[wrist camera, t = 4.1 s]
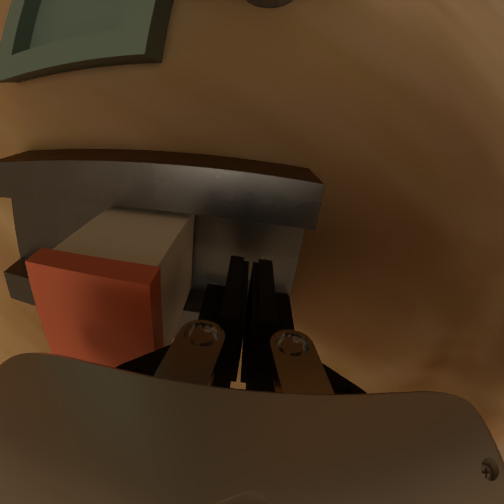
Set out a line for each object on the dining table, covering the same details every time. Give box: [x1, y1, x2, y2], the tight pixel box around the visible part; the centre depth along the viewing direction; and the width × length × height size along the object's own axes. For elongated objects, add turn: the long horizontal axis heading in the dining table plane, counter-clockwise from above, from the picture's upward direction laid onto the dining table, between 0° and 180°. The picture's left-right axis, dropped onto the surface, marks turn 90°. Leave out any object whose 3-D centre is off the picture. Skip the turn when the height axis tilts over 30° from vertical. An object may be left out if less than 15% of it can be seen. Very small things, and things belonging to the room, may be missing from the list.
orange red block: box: [25, 206, 195, 368], centre depth 11 cm, size 4×5×7 cm
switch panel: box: [0, 149, 324, 348], centre depth 15 cm, size 18×9×4 cm, turn 83°
